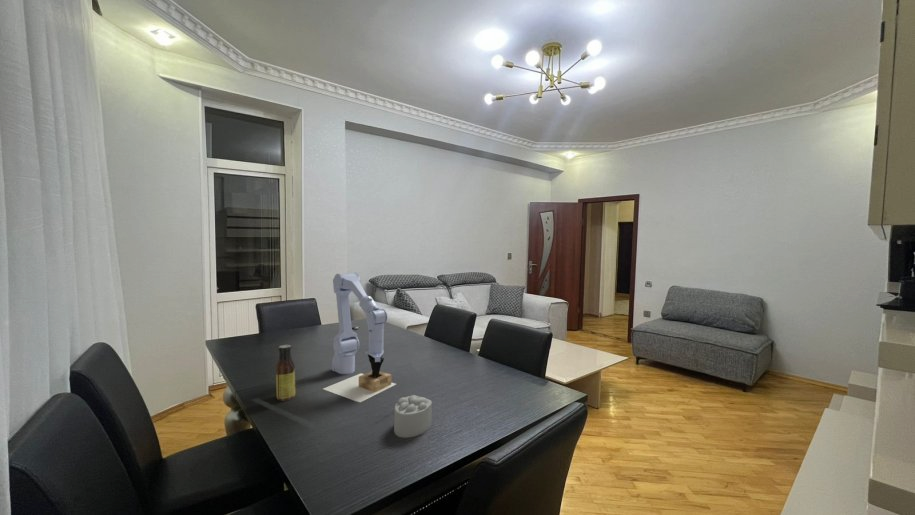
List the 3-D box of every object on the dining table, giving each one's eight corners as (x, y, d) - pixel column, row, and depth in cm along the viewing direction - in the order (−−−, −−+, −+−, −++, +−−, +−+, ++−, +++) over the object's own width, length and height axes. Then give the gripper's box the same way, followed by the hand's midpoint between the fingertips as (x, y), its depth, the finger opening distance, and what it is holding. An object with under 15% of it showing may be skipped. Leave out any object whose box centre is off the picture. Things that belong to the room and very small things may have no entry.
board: (322, 391, 139) (322, 388, 139) (360, 375, 156) (361, 373, 156) (359, 405, 129) (359, 402, 129) (396, 386, 146) (396, 384, 146)
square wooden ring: (358, 386, 142) (358, 376, 142) (374, 379, 150) (375, 369, 150) (375, 392, 138) (375, 381, 137) (391, 384, 145) (391, 374, 145)
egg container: (435, 421, 119) (435, 396, 119) (414, 441, 108) (415, 413, 107) (408, 414, 124) (409, 389, 123) (385, 432, 112) (386, 405, 111)
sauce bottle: (299, 398, 133) (299, 345, 132) (284, 405, 127) (285, 349, 126) (286, 394, 136) (287, 342, 134) (271, 401, 130) (272, 347, 129)
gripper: (364, 335, 148) (363, 368, 149) (367, 346, 135) (366, 381, 135) (381, 334, 151) (381, 366, 151) (386, 344, 137) (385, 380, 138)
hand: (375, 373), depth 144 cm, fingers closed on metal peg, 3 cm apart
